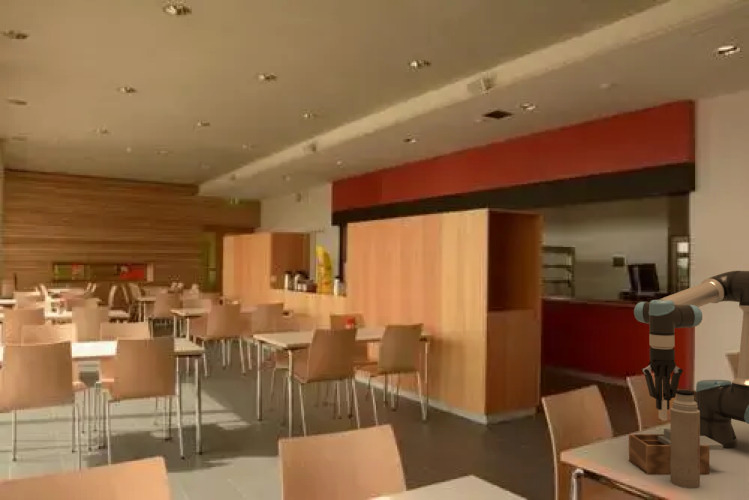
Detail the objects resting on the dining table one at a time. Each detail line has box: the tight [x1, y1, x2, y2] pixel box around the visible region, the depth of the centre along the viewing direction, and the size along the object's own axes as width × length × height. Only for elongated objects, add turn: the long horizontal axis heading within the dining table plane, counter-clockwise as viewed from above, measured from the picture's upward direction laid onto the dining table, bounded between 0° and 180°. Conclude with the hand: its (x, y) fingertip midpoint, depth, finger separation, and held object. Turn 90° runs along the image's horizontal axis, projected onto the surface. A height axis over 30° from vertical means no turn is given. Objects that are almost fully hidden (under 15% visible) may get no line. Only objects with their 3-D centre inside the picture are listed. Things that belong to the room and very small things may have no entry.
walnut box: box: [628, 433, 710, 476], centre depth 200 cm, size 20×13×9 cm, turn 92°
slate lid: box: [658, 428, 724, 451], centre depth 200 cm, size 16×10×4 cm, turn 92°
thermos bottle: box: [669, 389, 701, 489], centre depth 186 cm, size 8×8×28 cm
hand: (662, 419), depth 200 cm, fingers closed
